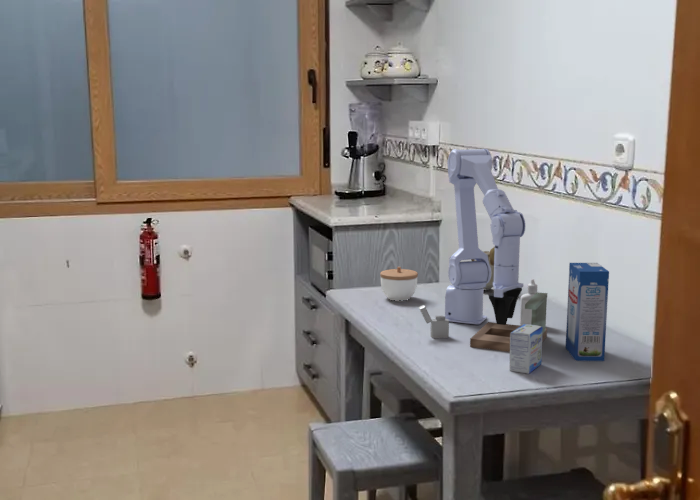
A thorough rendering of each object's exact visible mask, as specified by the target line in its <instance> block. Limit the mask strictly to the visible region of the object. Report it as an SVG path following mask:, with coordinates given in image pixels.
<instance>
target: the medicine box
mask: <svg viewBox="0 0 700 500" xmlns="http://www.w3.org/2000/svg"><path fill="white" fill-rule="evenodd" d="M520 326H521V325H520ZM542 331H543V327H542V326H537V325H529V324H524V325H522V326H521V327H519V328H517V329H516V330H514V331H513V332H511V333H510V352H509V372H516V373H520V374H527V375H528V374H531V373H532V372H533V371H534V370H536V369H537V368H538V367H540V366H541V365H542V362H543V361H542V355H543V353H542V352H543V342H542Z"/></svg>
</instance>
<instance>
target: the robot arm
mask: <svg viewBox="0 0 700 500" xmlns="http://www.w3.org/2000/svg"><path fill="white" fill-rule="evenodd" d="M492 165H493V158H492V154H491V152H490V150H489V149H488V148H478V149H477V148H475V149H472V148H471V149H470V148H469V149H457V148H454V149H452V150H451V151H450V152H449V155H448V158H447V174H448V175H447V177H448V181H449V183H450V184H452V185H453V186H454V187H453V188H454V190H453V191H454V201H455V202H454V203H455V212H456V226H457V239H458V240H457V241H458V249H457V250H456V251H455V252H454V253H452V255H451V256H450V257H449V258H448V259H449V260H448V263H449V264H448V271H447V273H448V280H449V283H451V284H450V285H448V286H447V287H446V290H445V296H444V298H445V299H444V300H445V301H444V316H445V319H448V320H449V323H450V322H451V323H453V322H454V323H461V324H469V325H470V324H471V325H481V324H482V323H483V322H484V321H485V320H486V319H487V318H488V316H487V315H484V311H483V310H484V289H483V287H486V284H487V283H488V282H489V281H490V278H491V267H490V265H489V261H488V255H487V254H485V253H484V252H483V250H482V249H480V248H479V240H478V239H479V238H478V236H479V235H478V225H477V213H476V212H477V211H476V199H475V187H476V185H477V186H478V188H479V189H480V192H481V193H482V194H483V198H482V204H483V206H484V208H485V210H486V212H487V214H488V217H489V218H490V222H491V223H490V233H491V237H492V240H491V242H492V244H493V245H494V247H495V253H494V282H493V287H492V288H493V293H491V292H490V293H488V299H489V302H490V303H491V306H492V308H493V312H494V318H495V323H497V324H500V325H506V324H508V319H513V318H514V315H515V309H516V306H517V302H518V299H519V297H520V295H521V293H522V290H523V289H522V288H523V287H524V283H521V282H519V275H520V274H519V271H520V251H521V250H520V249H521V248H520V247H521V245H520V244H521V238H522V237H523V236H524V234H525V232H526V219H525V218H524V215H523V213H521V212H520V211H518V210H517V209H514V208H513V205H512V203H511V202H510V200H509V198H508V196H507V194H506V192H505V191H504V189H503V190H502V189H499V188H498V186H497V182H496V181H495V177H494V174H493V172H492ZM471 259H474V260H476V261H471ZM468 260H469V261H468Z"/></svg>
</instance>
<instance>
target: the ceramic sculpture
mask: <svg viewBox="0 0 700 500" xmlns="http://www.w3.org/2000/svg"><path fill="white" fill-rule="evenodd" d="M482 251H483V250H482ZM483 252H484V253H485V254H487V255H488V261H489V265H490V267H491V278H490V281H489V282H488V283H487V284H486V287H483V290H491V289H492V288H494V287H493V282H494V253H495V246H493V247H492V248H491V249H490V251H488V250H485V251H483ZM470 261H476V260H474V259H470Z"/></svg>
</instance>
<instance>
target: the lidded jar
mask: <svg viewBox="0 0 700 500" xmlns="http://www.w3.org/2000/svg"><path fill="white" fill-rule="evenodd" d="M418 276H419V273H418V272H417V271H415V270H413V269H406V268H402V267H401V266H397V267H396V268H393V269H390V268H389V269H386V270H381V271H380V275H379V277H380V286H381V290H382V293H383V294H384V296H386V297H387V299H388V300H389V299H390V300H389V301H391V300H395V301H394V302H400V301H399V300H407V299H409V300H410V298H411V297H412V296H413V295H414V294H415V293H416V289H417V287H418ZM407 301H408V300H407Z"/></svg>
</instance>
